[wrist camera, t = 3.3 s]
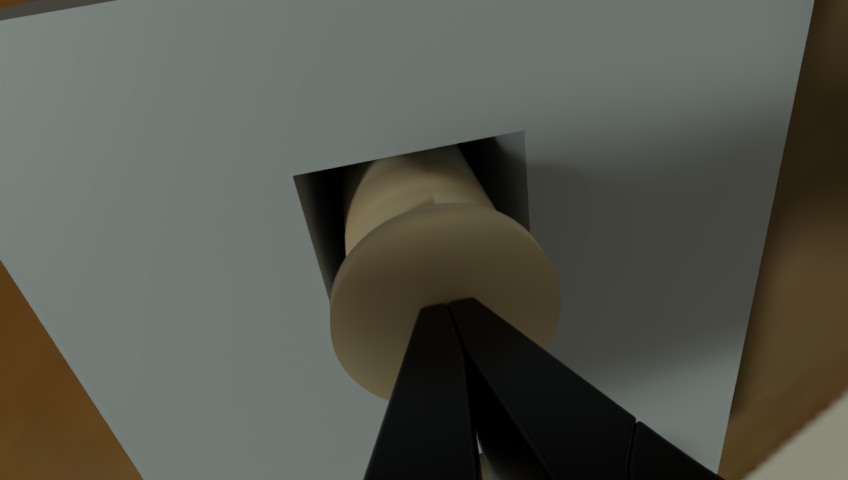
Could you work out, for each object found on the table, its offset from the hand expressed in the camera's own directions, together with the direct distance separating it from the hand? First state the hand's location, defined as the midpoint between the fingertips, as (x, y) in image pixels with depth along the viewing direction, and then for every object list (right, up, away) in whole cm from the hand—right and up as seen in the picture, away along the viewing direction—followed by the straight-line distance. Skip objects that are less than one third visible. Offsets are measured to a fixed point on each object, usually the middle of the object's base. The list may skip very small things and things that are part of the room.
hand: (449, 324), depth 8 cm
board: (0, 0, +8) cm, 8 cm away
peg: (-1, +3, +5) cm, 6 cm away
